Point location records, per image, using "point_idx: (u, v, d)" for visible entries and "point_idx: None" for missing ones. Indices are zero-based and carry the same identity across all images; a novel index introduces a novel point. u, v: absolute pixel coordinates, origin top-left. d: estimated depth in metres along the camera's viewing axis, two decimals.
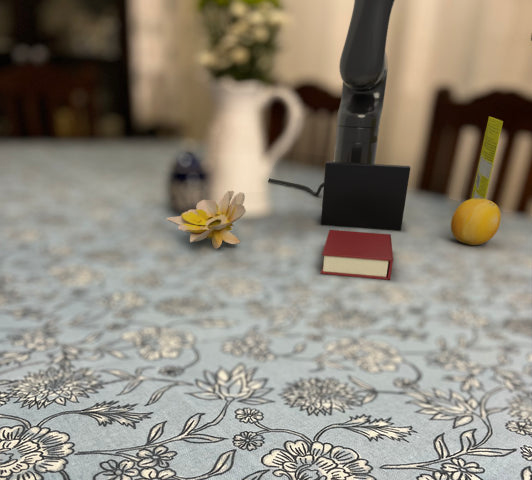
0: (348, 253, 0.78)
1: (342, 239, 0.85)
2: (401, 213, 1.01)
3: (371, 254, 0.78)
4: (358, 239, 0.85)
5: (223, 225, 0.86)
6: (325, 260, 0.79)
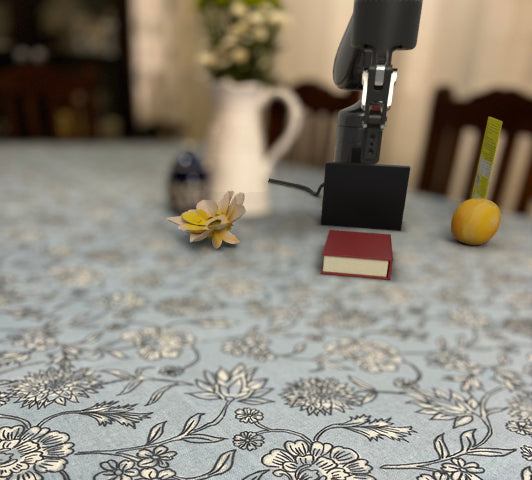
0: (348, 253, 0.78)
1: (342, 239, 0.85)
2: (401, 213, 1.01)
3: (371, 254, 0.78)
4: (358, 239, 0.85)
5: (223, 225, 0.86)
6: (325, 260, 0.79)
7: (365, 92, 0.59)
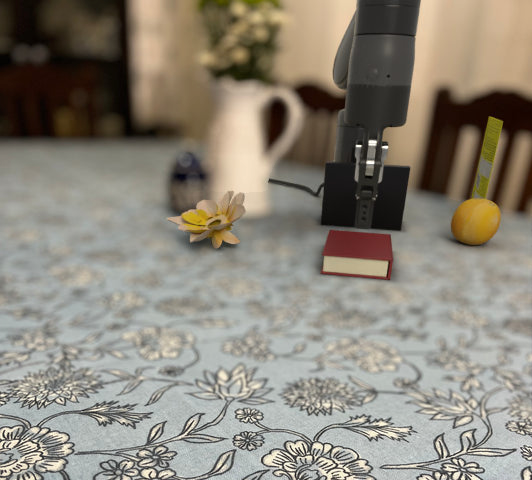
0: (348, 253, 0.78)
1: (342, 239, 0.85)
2: (401, 213, 1.01)
3: (371, 254, 0.78)
4: (358, 239, 0.85)
5: (223, 225, 0.86)
6: (325, 260, 0.79)
7: (358, 169, 0.65)
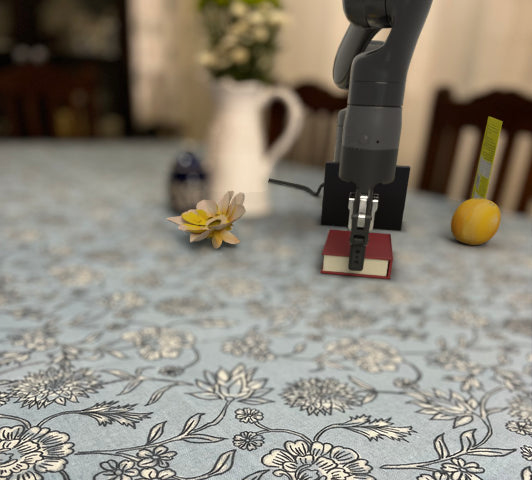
0: (347, 252, 0.79)
1: (342, 239, 0.85)
2: (401, 213, 1.01)
3: (371, 253, 0.78)
4: None
5: (223, 225, 0.86)
6: (325, 259, 0.79)
7: (351, 219, 0.72)
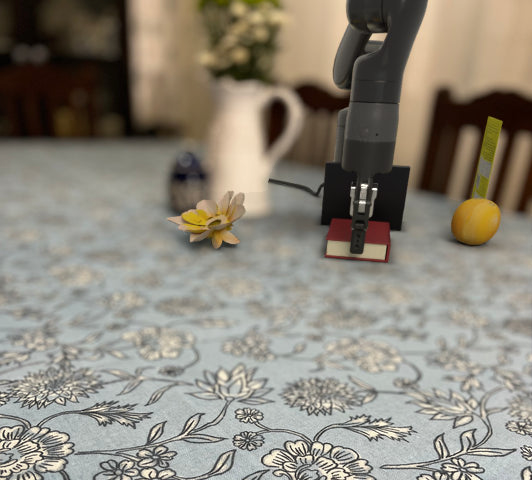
0: (349, 237, 0.86)
1: (344, 226, 0.92)
2: (401, 213, 1.01)
3: (371, 239, 0.85)
4: None
5: (223, 225, 0.86)
6: (328, 244, 0.86)
7: (352, 206, 0.79)
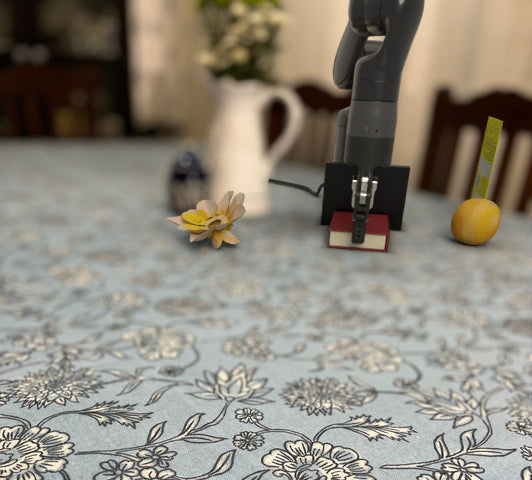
0: (351, 229, 0.91)
1: (346, 218, 0.97)
2: (401, 213, 1.01)
3: (371, 230, 0.90)
4: None
5: (223, 225, 0.86)
6: (331, 235, 0.91)
7: (354, 198, 0.84)
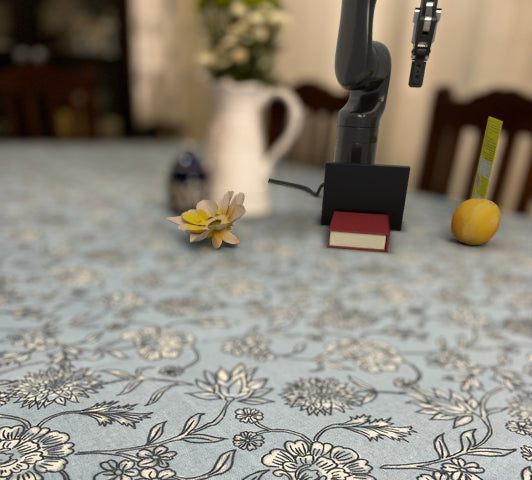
0: (351, 229, 0.91)
1: (346, 218, 0.97)
2: (401, 213, 1.01)
3: (371, 230, 0.90)
4: (360, 218, 0.97)
5: (223, 225, 0.86)
6: (331, 235, 0.91)
7: (415, 31, 0.79)
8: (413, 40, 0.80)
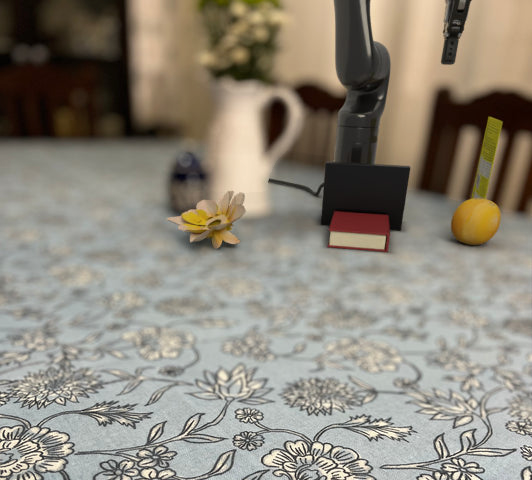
0: (351, 229, 0.91)
1: (346, 218, 0.97)
2: (401, 213, 1.01)
3: (371, 230, 0.90)
4: (360, 218, 0.97)
5: (223, 225, 0.86)
6: (331, 235, 0.91)
7: (449, 10, 0.84)
8: (447, 19, 0.85)
